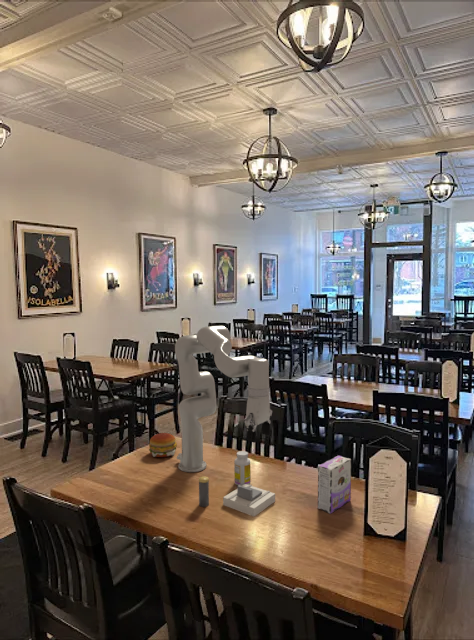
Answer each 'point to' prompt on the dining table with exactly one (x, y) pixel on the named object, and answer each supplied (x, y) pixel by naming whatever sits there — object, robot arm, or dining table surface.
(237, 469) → the supplement bottle
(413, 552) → the dining table surface
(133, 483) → the dining table surface
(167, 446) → the burger
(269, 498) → the socket
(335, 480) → the candy box
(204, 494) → the plug
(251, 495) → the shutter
